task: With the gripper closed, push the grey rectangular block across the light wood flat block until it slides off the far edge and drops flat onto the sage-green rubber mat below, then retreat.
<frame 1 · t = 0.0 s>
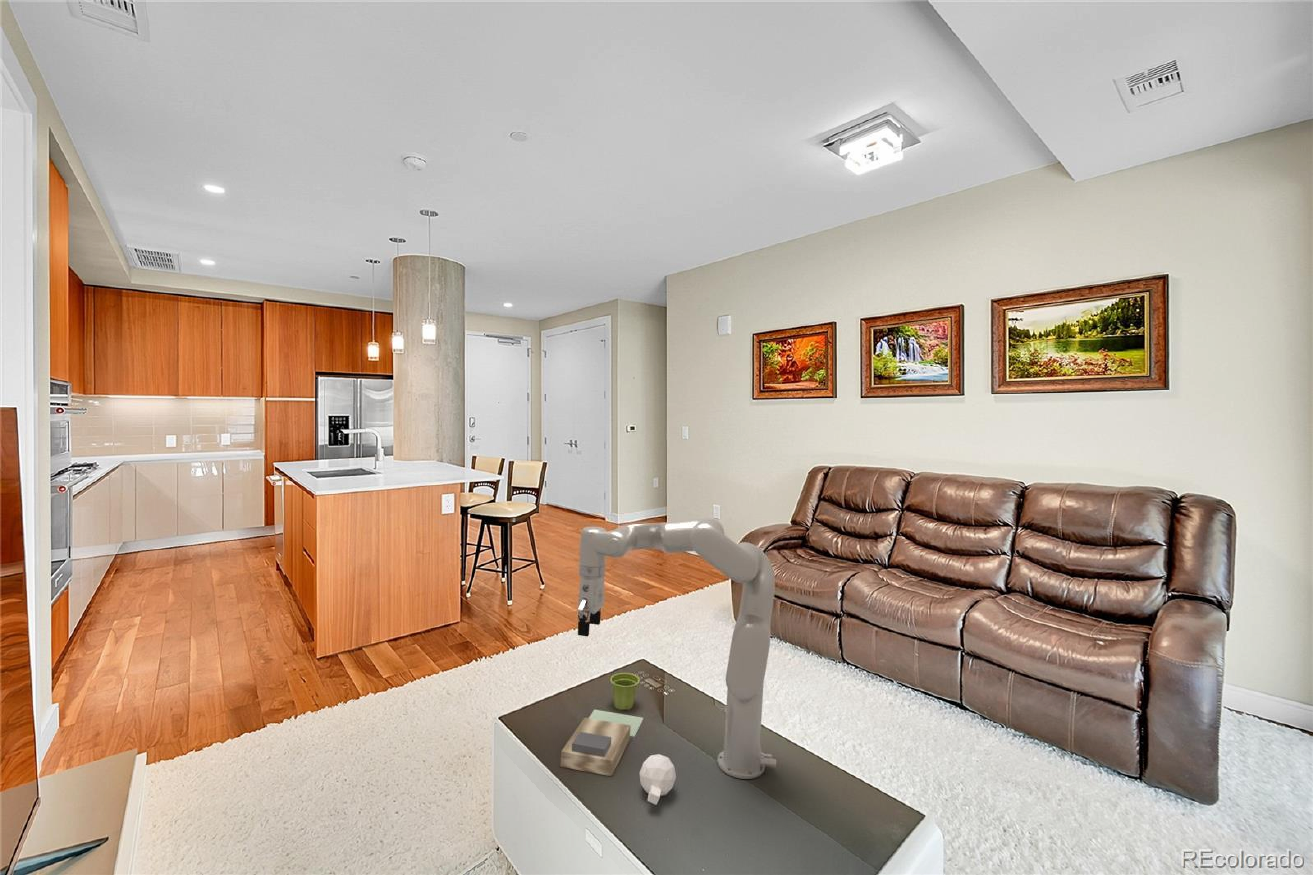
hand: (589, 629, 161), 31 cm above the table, fingers open, 9 cm apart
grey rectangular block: (591, 747, 149), point 4 cm above the table, touching light wood flat block
light wood flat block: (596, 752, 154), on the table
plant pot: (623, 706, 181), on the table
mat: (613, 723, 170), on the table
perfume bottle: (653, 796, 137), on the table
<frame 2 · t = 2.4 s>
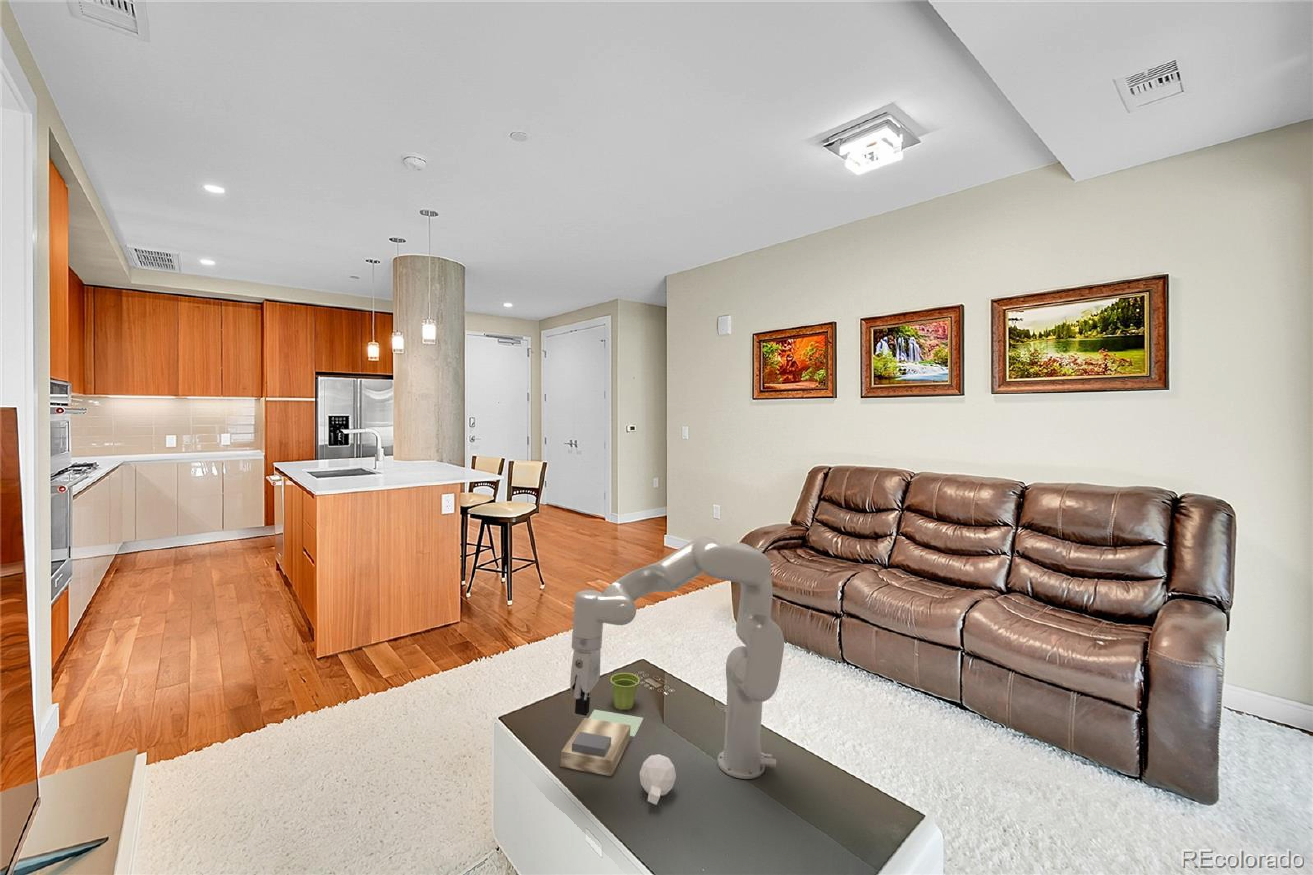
hand: (581, 713, 141), 17 cm above the table, fingers closed
nothing on the table moved.
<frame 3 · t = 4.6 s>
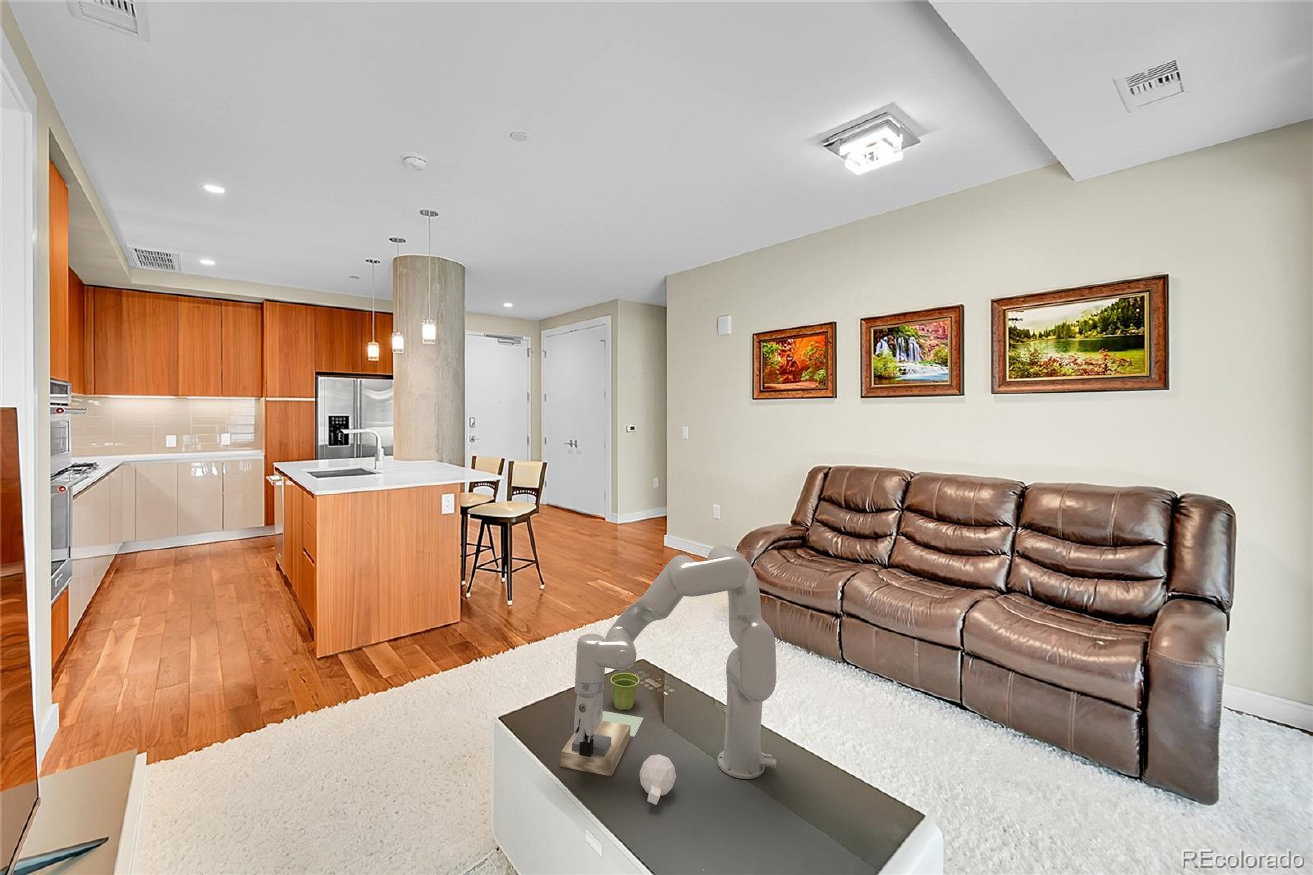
hand: (586, 754, 145), 5 cm above the table, fingers closed
grey rectangular block: (591, 747, 150), point 4 cm above the table, touching gripper
everything else where it was.
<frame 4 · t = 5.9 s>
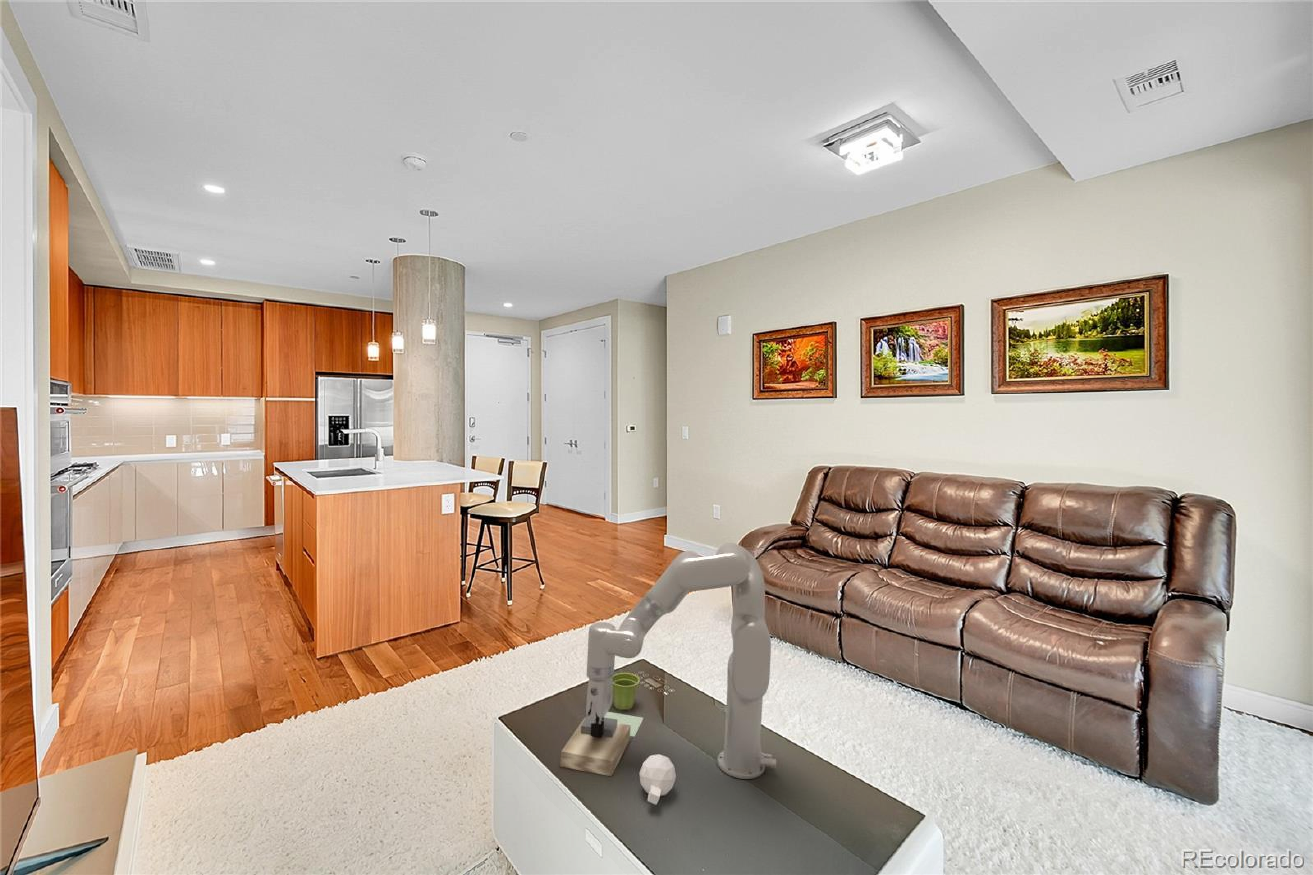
hand: (596, 735, 154), 5 cm above the table, fingers closed
grey rectangular block: (599, 729, 158), point 4 cm above the table, touching light wood flat block, gripper
everything else where it was.
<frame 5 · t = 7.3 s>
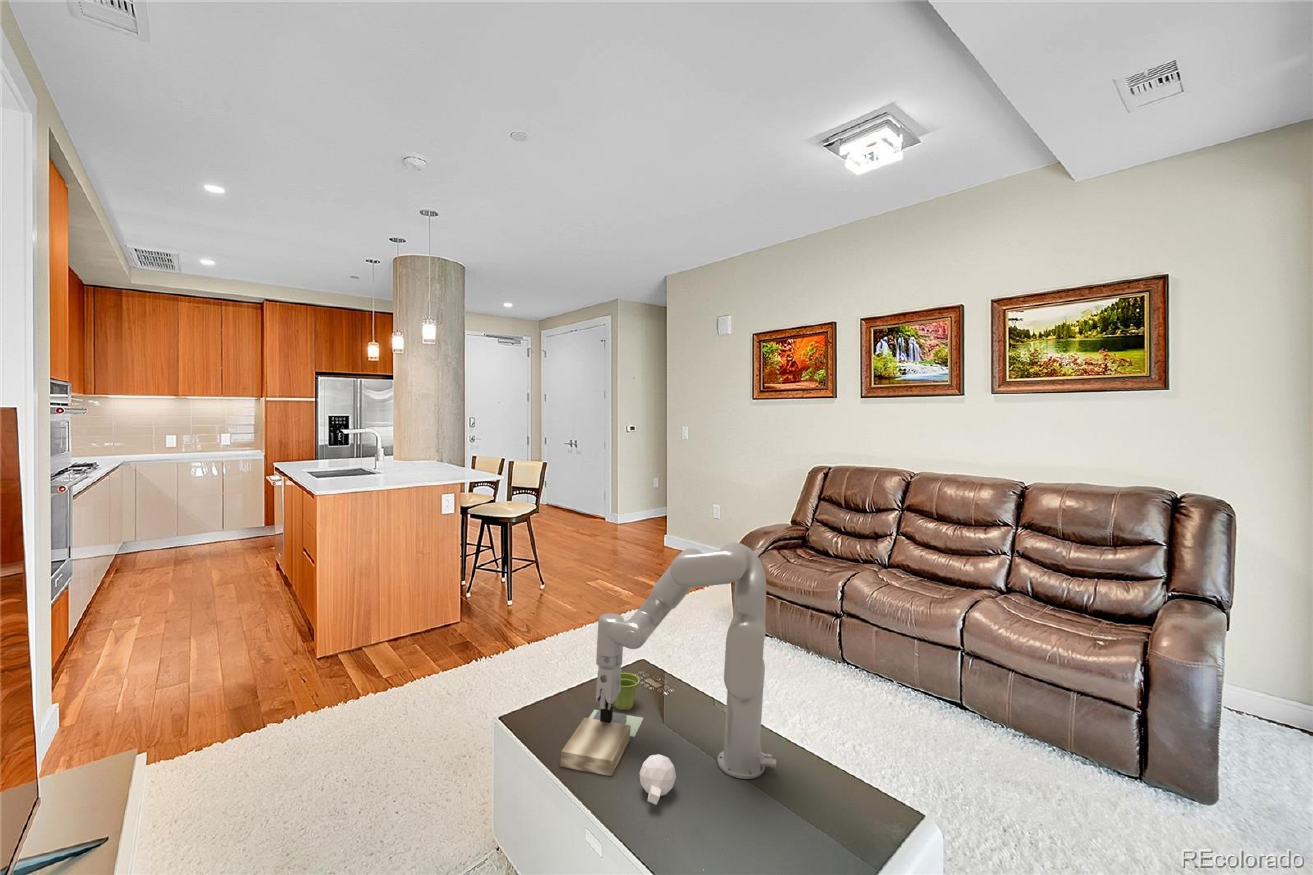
hand: (606, 721, 162), 5 cm above the table, fingers closed
grey rectangular block: (609, 716, 169), point 2 cm above the table, tilted 180°, touching mat
everything else where it was.
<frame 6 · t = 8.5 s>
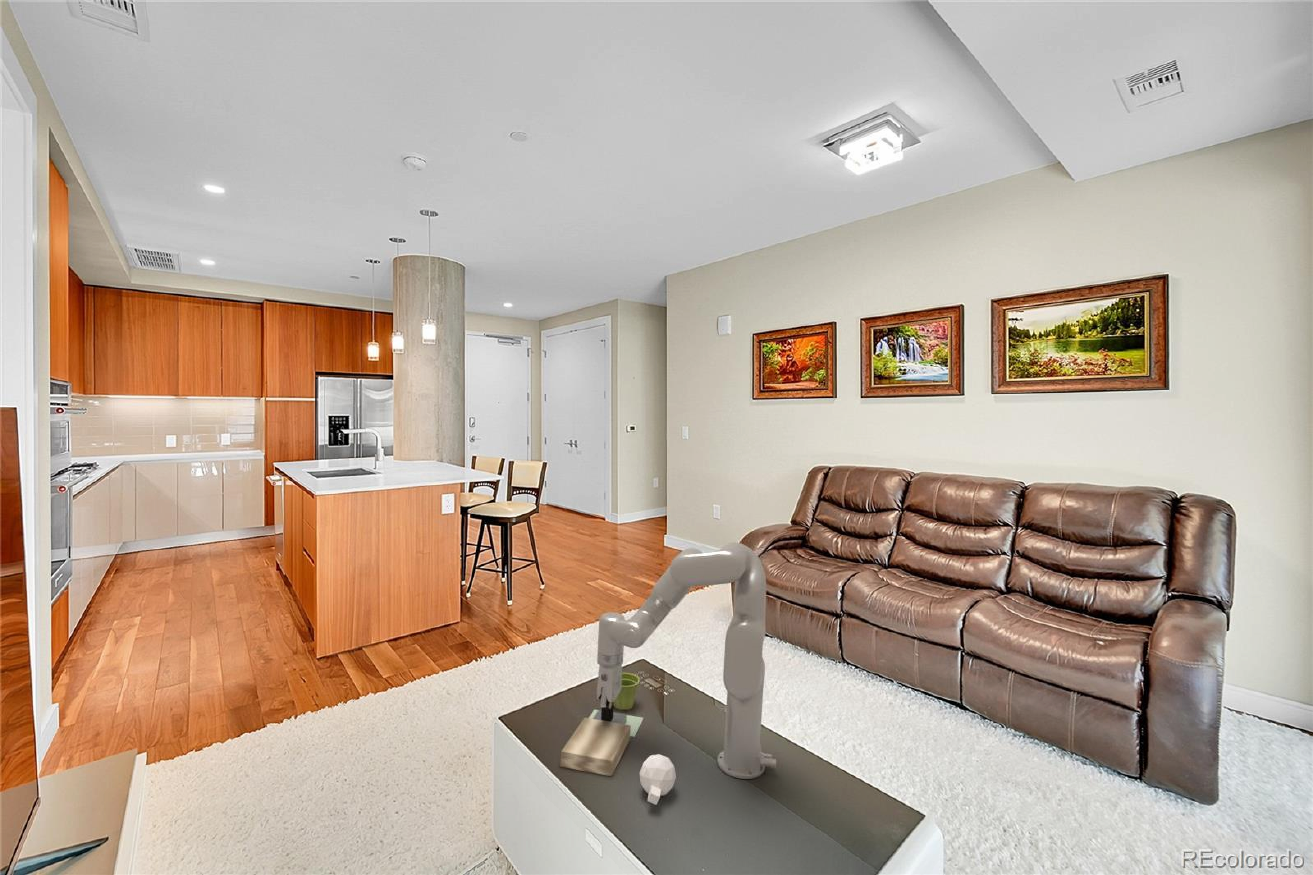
hand: (607, 719, 163), 5 cm above the table, fingers closed
nothing on the table moved.
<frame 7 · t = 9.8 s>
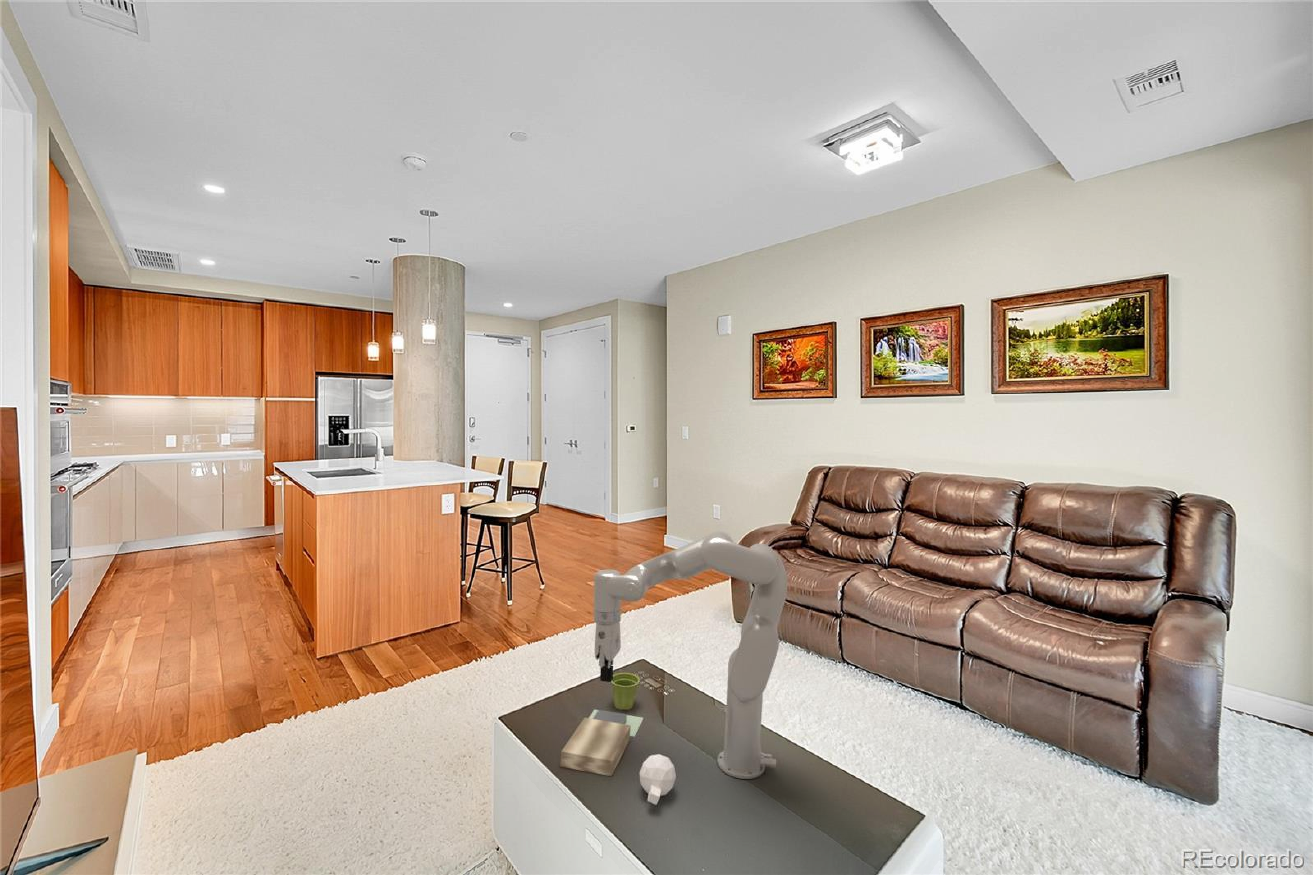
hand: (606, 680, 157), 19 cm above the table, fingers closed
nothing on the table moved.
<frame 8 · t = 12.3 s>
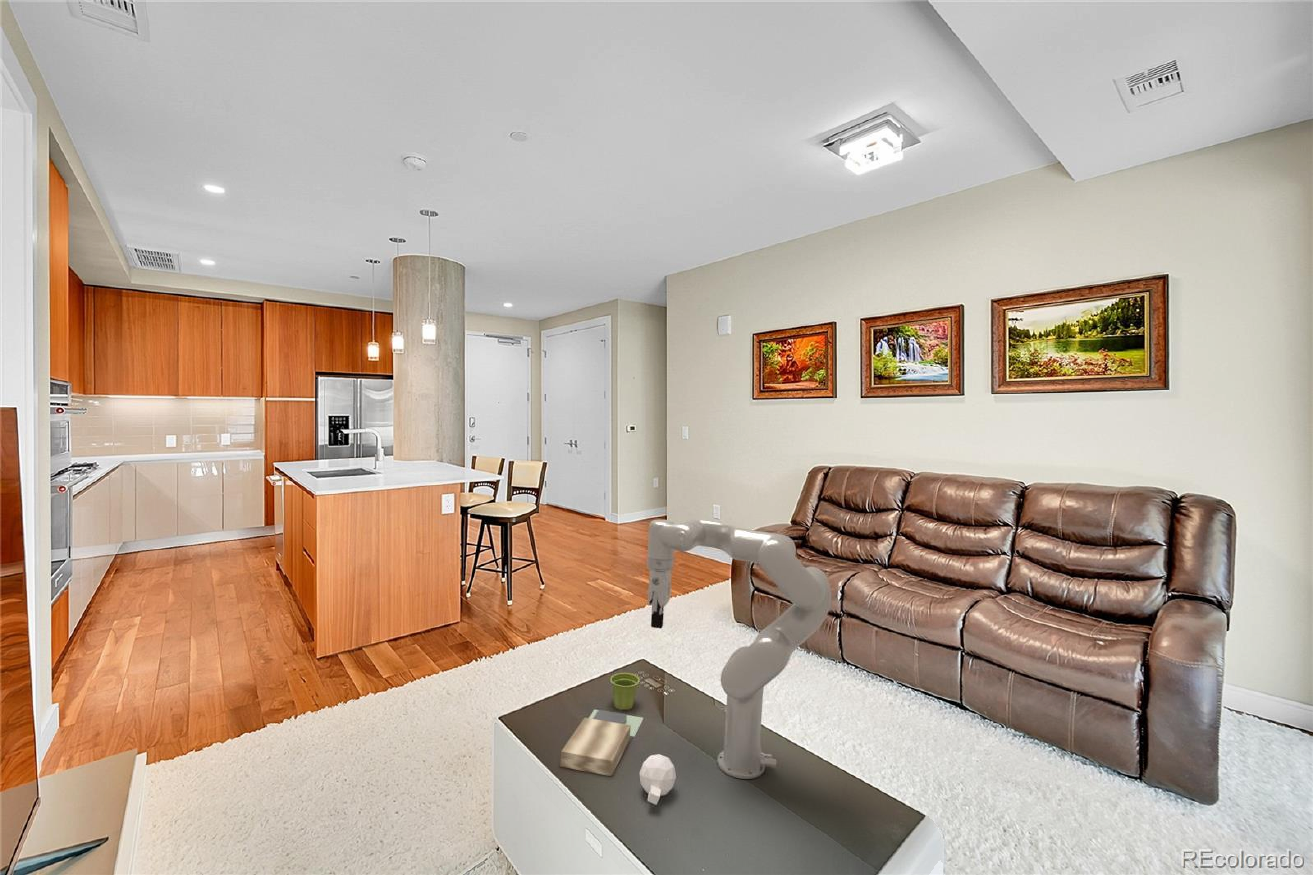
hand: (656, 626, 161), 33 cm above the table, fingers closed
nothing on the table moved.
at the end: grey rectangular block point 2.3 cm above the table; grey rectangular block inside the target area on the mat (1.3 cm from its centre), point 2.3 cm above the mat's base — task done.
